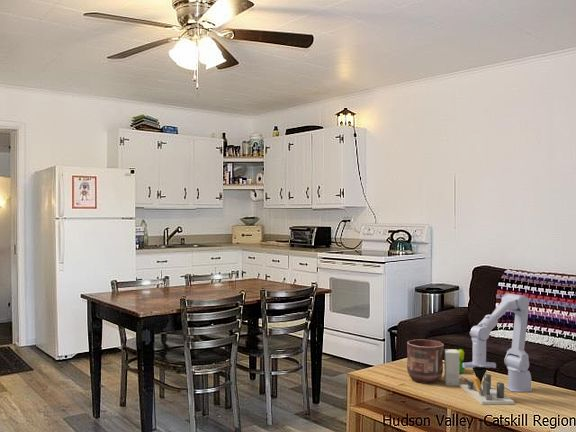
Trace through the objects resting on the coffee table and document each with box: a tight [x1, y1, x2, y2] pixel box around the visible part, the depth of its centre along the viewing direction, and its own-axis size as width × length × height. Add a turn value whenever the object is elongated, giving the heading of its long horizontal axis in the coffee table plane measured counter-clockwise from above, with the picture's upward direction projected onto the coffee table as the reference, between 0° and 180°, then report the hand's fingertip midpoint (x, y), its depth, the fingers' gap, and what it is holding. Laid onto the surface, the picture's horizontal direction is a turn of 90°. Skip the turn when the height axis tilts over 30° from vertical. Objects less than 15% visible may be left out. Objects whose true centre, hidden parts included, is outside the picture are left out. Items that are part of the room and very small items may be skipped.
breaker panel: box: [459, 373, 515, 406], centre depth 241 cm, size 14×24×7 cm, turn 4°
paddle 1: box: [460, 375, 474, 388], centre depth 247 cm, size 1×4×7 cm
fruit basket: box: [457, 348, 465, 374], centre depth 280 cm, size 11×9×11 cm
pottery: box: [406, 338, 445, 384], centre depth 263 cm, size 18×18×18 cm
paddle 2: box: [482, 380, 490, 397], centre depth 233 cm, size 1×4×7 cm, turn 3°
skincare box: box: [443, 348, 461, 387], centre depth 258 cm, size 8×7×16 cm
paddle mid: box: [472, 375, 482, 392], centre depth 240 cm, size 1×4×7 cm, turn 4°
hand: (479, 383), depth 240 cm, fingers closed, pressing on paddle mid
